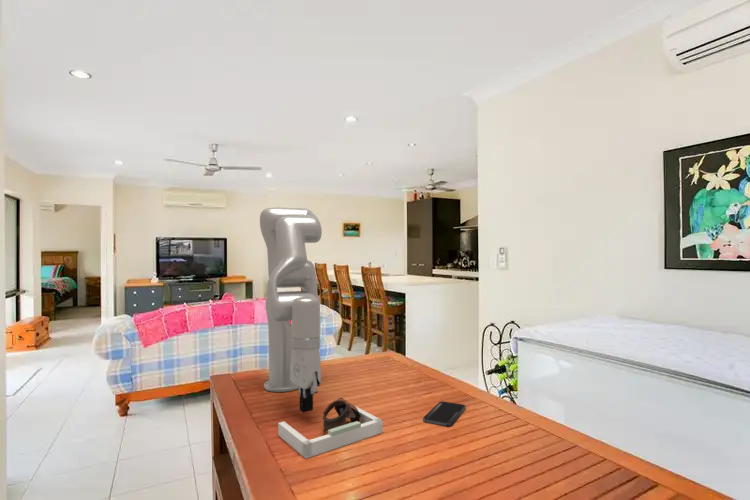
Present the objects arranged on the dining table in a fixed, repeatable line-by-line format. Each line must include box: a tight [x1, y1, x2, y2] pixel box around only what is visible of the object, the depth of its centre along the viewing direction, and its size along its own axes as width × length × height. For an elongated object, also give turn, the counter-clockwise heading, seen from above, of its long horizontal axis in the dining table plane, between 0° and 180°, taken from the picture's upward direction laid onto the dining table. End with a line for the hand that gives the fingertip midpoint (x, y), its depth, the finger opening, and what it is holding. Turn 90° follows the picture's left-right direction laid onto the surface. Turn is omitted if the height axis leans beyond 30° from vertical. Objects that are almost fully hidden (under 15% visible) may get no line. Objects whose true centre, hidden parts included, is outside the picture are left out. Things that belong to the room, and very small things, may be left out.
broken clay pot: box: [322, 397, 362, 432], centre depth 104 cm, size 12×10×8 cm
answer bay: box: [277, 405, 384, 460], centre depth 100 cm, size 14×21×4 cm
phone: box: [422, 400, 467, 428], centre depth 112 cm, size 8×1×15 cm
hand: (306, 410), depth 111 cm, fingers closed
